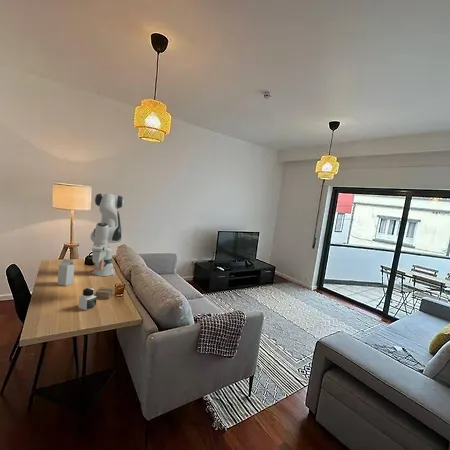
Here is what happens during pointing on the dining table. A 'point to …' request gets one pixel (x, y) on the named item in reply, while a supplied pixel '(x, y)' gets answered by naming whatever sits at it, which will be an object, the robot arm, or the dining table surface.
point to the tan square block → (104, 293)
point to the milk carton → (65, 272)
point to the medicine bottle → (87, 299)
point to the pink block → (99, 265)
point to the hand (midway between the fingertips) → (98, 265)
